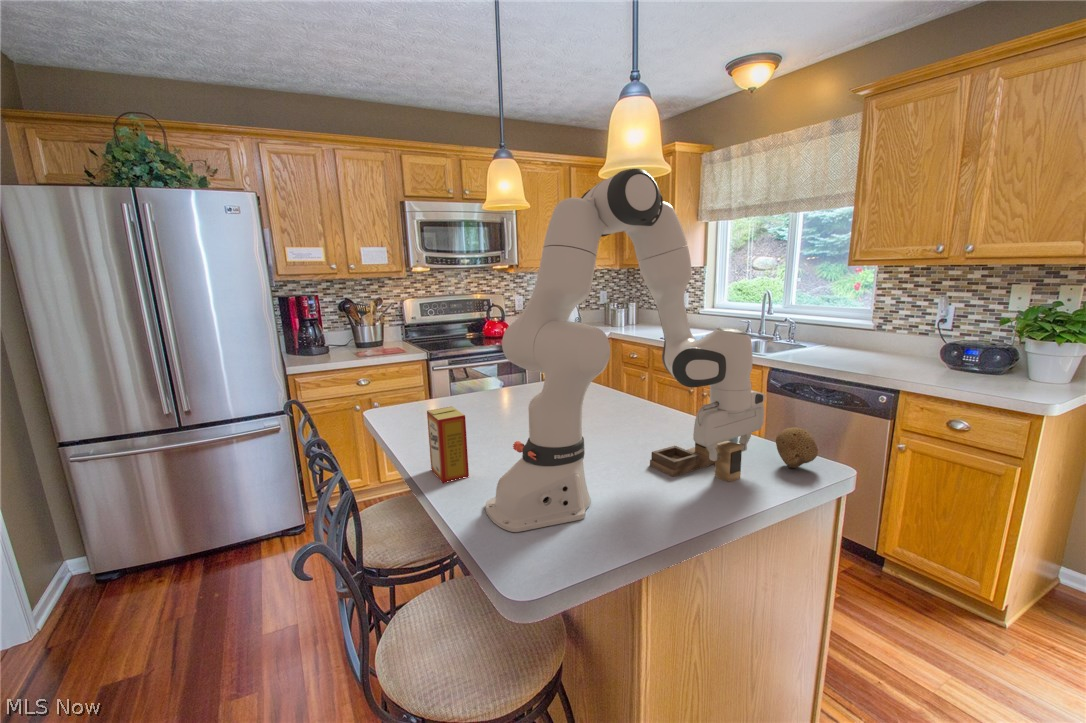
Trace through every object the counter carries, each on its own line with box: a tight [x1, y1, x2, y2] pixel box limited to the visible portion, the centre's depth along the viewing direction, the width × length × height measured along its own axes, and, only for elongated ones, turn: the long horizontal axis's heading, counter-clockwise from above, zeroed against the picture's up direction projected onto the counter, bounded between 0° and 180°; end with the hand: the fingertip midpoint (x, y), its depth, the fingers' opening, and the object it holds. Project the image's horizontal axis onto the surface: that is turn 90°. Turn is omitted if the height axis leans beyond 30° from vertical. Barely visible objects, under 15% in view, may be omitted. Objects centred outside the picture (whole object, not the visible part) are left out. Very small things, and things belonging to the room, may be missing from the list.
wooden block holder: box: [649, 442, 716, 477], centre depth 122 cm, size 19×8×10 cm, turn 119°
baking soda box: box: [426, 406, 470, 484], centre depth 119 cm, size 10×6×16 cm
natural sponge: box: [775, 426, 819, 468], centre depth 117 cm, size 9×9×10 cm
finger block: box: [714, 441, 742, 483], centre depth 113 cm, size 4×4×8 cm
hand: (728, 455), depth 114 cm, fingers open, 8 cm apart
